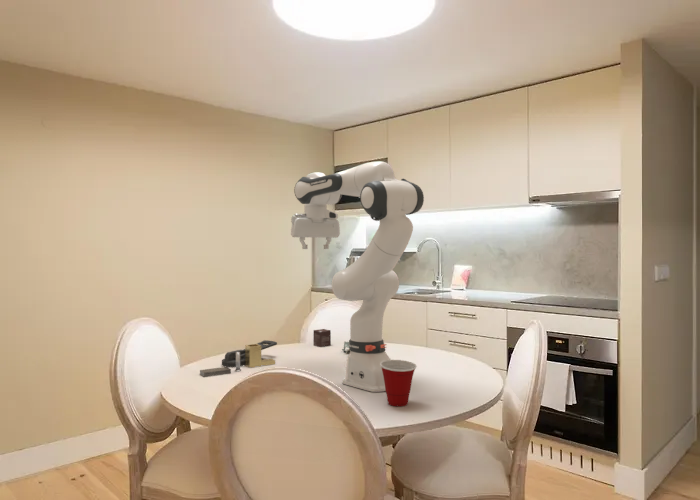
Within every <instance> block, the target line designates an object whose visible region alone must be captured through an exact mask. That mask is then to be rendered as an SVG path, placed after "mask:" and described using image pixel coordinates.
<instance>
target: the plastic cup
mask: <svg viewBox="0 0 700 500" xmlns="http://www.w3.org/2000/svg"><path fill="white" fill-rule="evenodd" d="M380 366H381V367H382V371H383V376H384V383H385V389H386V391H385V393H386V399H387V404H388V406H389V405H390V406H393V407H405V406H407V405H408V403H409V398H410V394H411V388H412V383H413V376H414V373H415V370H416V369H417V367H418V366H417V364H415V363H414V362H412V361H407V360H403V359H402V360H401V359H391V360H386V361H382V362H381V363H380Z"/></svg>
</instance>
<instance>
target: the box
mask: <svg viewBox="0 0 700 500" xmlns="http://www.w3.org/2000/svg"><path fill="white" fill-rule="evenodd" d="M331 334H332V333H331V329H327V328H326V329H325V328H320V329H313V335H312V336H313V339H312V340H313V344H312V345H313V346H314V347H318V348H322V347H328V346H331V345H332V344H331V338H332V337H331Z"/></svg>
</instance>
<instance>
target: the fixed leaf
mask: <svg viewBox="0 0 700 500" xmlns="http://www.w3.org/2000/svg"><path fill="white" fill-rule="evenodd" d="M241 371H242V369H241V367H240V352H236V367H235V369H234V372H238V373H239V372H241ZM231 373H232V369H231V368H230V367H225V366H222V367H221V366H220V367H215V368H207V369H206V368H205V369H200V370H199V375H200V376H202V377H203V378H207V377H213V376H222V375H230V374H231Z"/></svg>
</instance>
